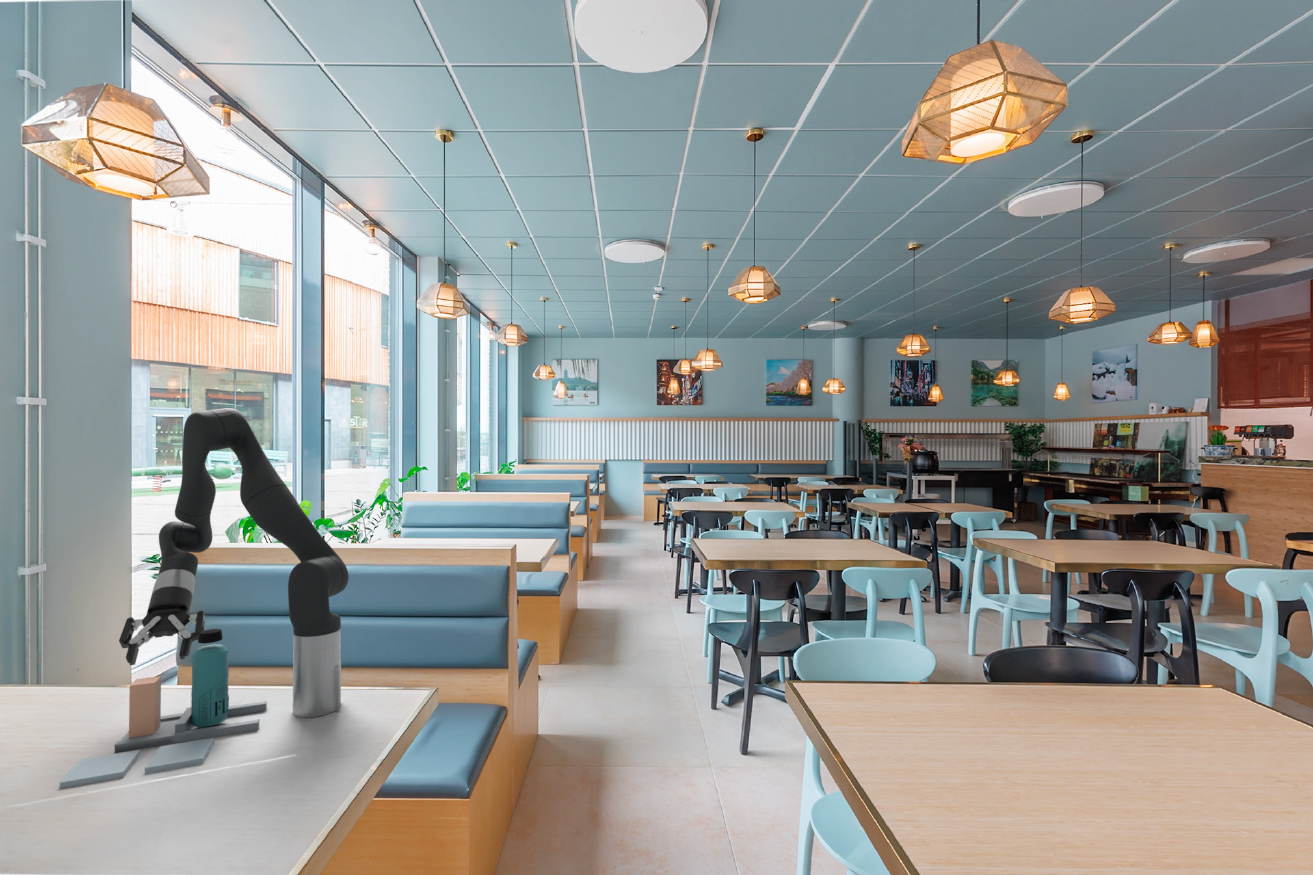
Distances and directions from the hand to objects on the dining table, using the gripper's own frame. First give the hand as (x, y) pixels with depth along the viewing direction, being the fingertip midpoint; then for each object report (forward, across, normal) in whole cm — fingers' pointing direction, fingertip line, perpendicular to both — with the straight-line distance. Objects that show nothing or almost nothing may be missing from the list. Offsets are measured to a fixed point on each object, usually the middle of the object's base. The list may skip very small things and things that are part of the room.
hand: (157, 660), depth 132 cm
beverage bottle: (+15, +11, +4) cm, 19 cm away
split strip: (+24, +3, -6) cm, 25 cm away
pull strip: (+14, +8, +4) cm, 17 cm away
